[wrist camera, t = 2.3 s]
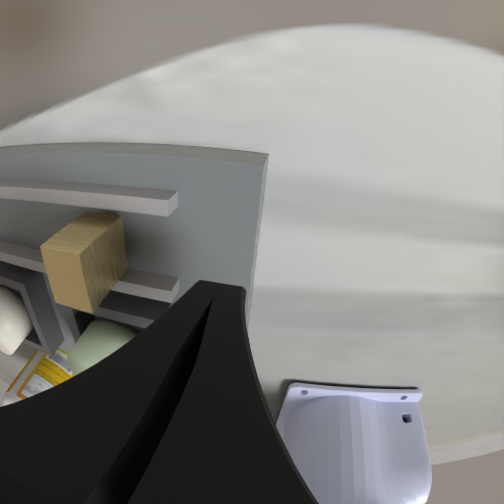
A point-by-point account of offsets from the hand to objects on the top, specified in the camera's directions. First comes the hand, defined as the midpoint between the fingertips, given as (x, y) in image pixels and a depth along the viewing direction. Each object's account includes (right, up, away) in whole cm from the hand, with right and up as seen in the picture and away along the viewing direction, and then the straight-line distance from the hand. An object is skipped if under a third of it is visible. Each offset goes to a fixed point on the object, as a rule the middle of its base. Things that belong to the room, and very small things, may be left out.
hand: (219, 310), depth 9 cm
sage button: (-6, -3, +5) cm, 8 cm away
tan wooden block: (-5, +2, +3) cm, 6 cm away
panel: (-8, +1, +7) cm, 11 cm away
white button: (-14, -2, +6) cm, 15 cm away
